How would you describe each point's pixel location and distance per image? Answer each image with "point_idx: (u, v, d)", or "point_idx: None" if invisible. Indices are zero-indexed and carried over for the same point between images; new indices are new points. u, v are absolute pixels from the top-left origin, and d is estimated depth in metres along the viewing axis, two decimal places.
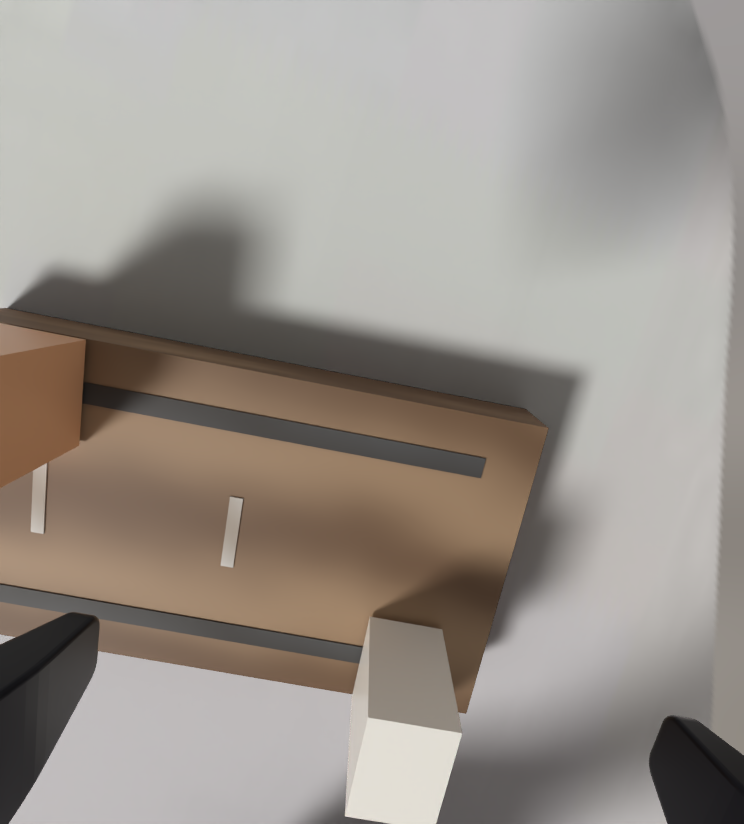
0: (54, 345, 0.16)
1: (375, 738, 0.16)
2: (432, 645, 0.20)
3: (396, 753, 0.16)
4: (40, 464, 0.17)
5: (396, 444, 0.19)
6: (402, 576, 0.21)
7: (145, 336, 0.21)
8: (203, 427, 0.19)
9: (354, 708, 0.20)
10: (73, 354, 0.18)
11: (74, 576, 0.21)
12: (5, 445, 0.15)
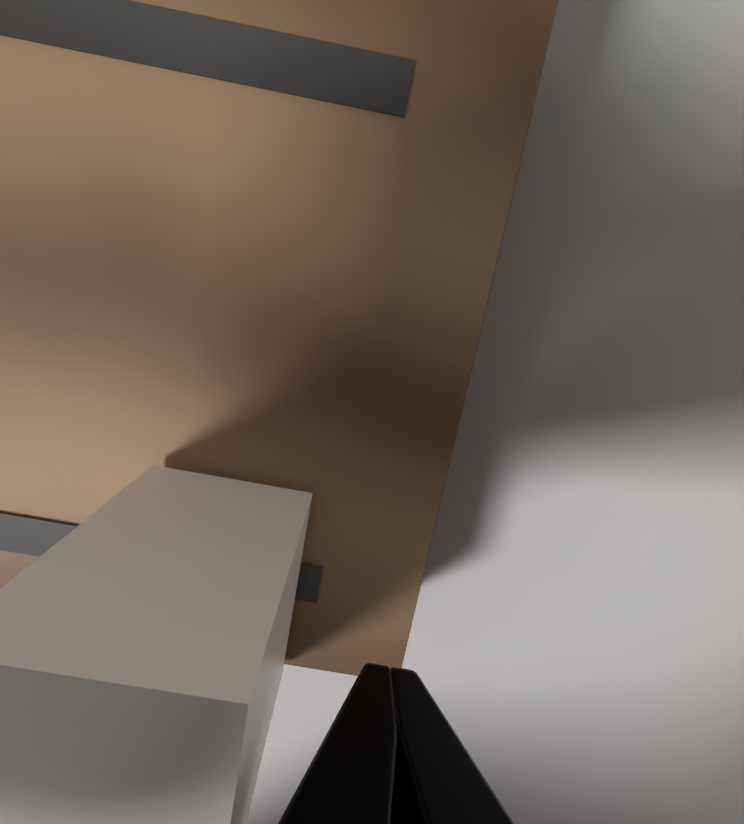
0: None
1: None
2: (273, 513, 0.09)
3: (45, 771, 0.05)
4: None
5: (197, 25, 0.08)
6: (243, 376, 0.09)
7: None
8: None
9: None
10: None
11: None
12: None
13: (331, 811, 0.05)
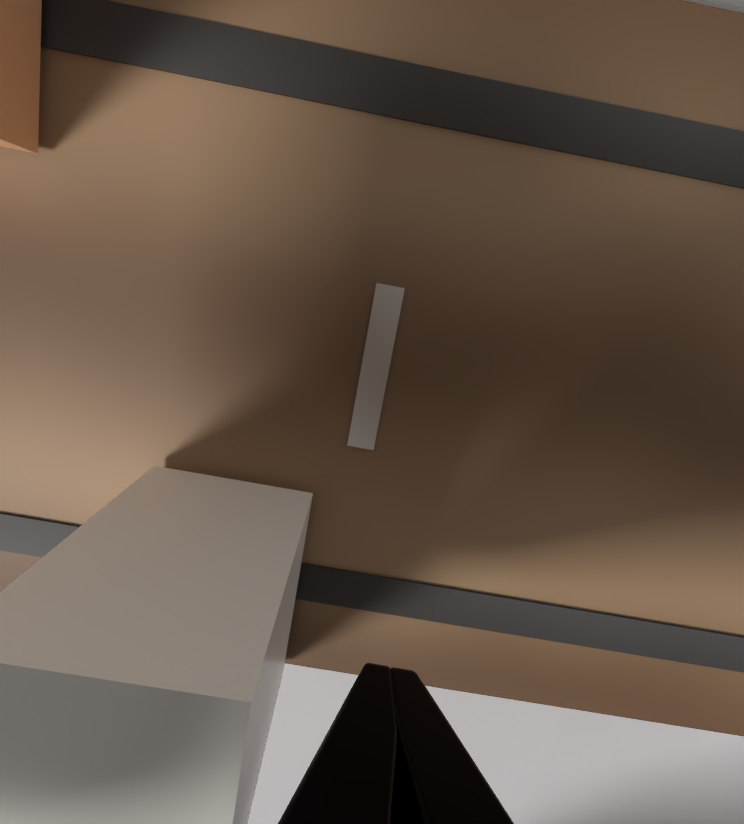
0: None
1: None
2: (274, 513, 0.09)
3: (50, 768, 0.05)
4: None
5: None
6: (731, 464, 0.10)
7: None
8: (324, 107, 0.08)
9: None
10: None
11: (38, 474, 0.10)
12: None
13: (331, 811, 0.05)
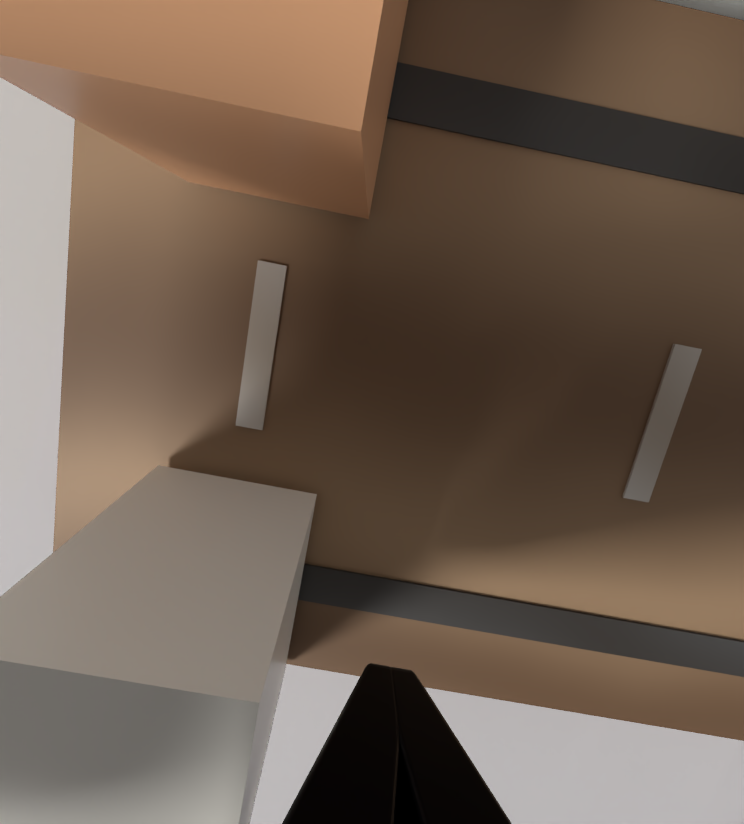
0: None
1: None
2: (278, 514, 0.09)
3: (58, 768, 0.05)
4: (367, 189, 0.06)
5: None
6: None
7: None
8: (647, 177, 0.09)
9: None
10: None
11: (315, 521, 0.10)
12: (392, 0, 0.04)
13: (335, 812, 0.05)
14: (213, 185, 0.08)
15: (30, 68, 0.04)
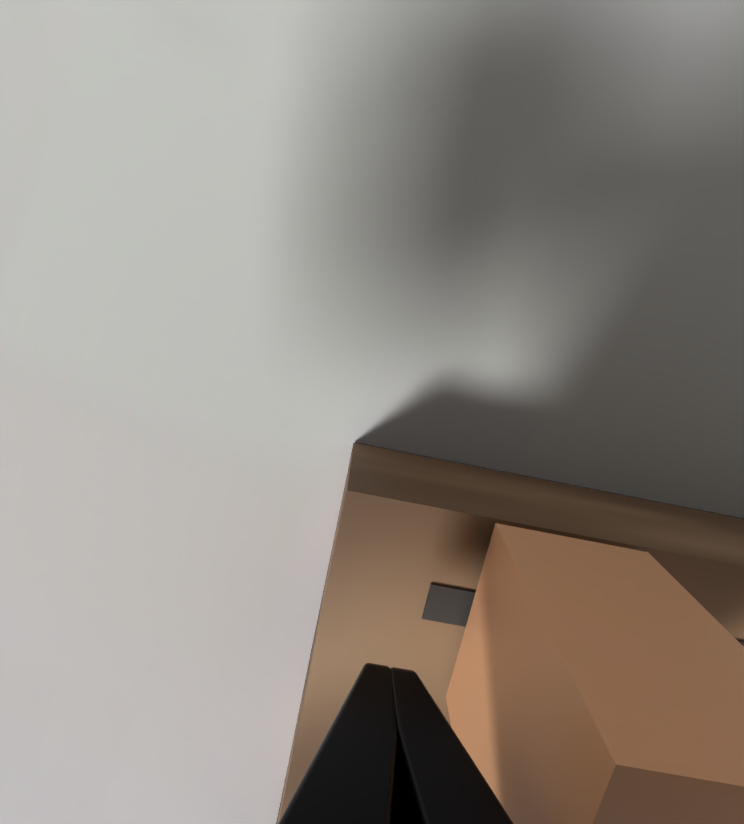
0: (702, 609, 0.08)
1: None
2: None
3: None
4: None
5: None
6: None
7: (588, 492, 0.13)
8: None
9: None
10: None
11: None
12: None
13: (331, 811, 0.05)
14: None
15: None
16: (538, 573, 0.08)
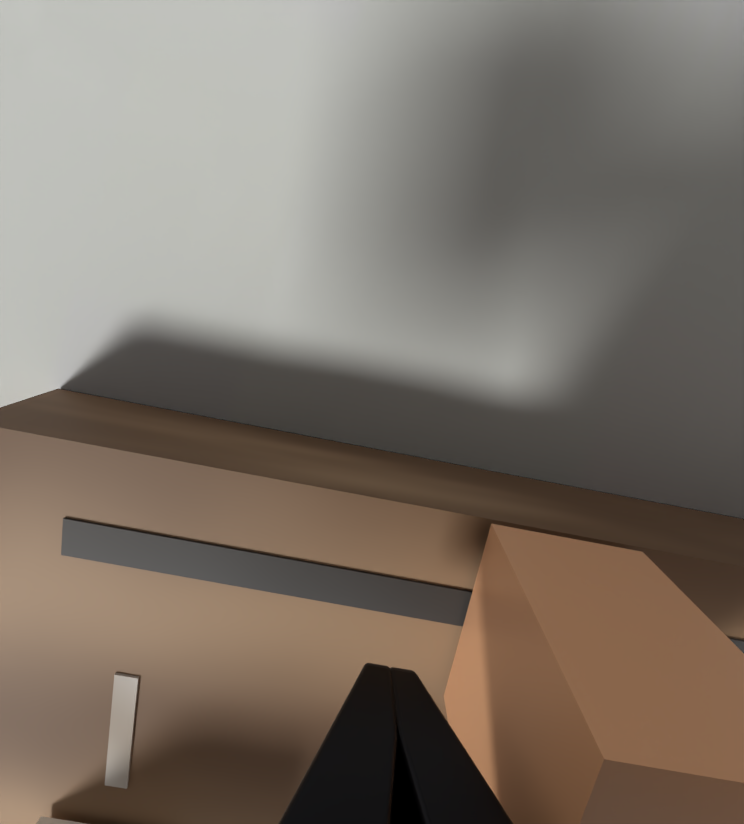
0: (695, 607, 0.08)
1: None
2: None
3: None
4: None
5: None
6: None
7: (293, 437, 0.12)
8: (426, 620, 0.11)
9: None
10: None
11: None
12: None
13: (331, 811, 0.05)
14: None
15: None
16: (532, 573, 0.08)
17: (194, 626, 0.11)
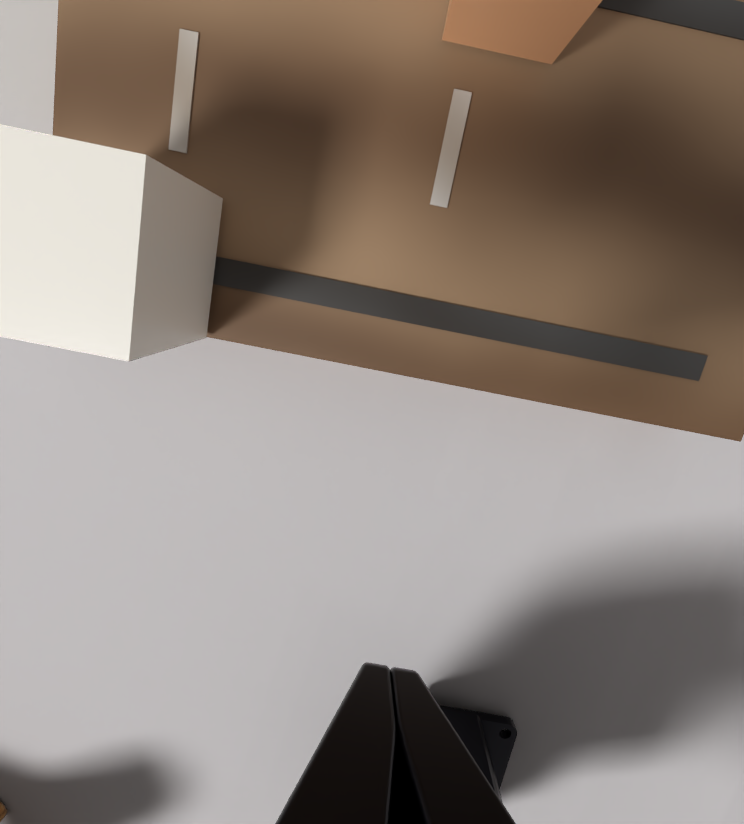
0: None
1: (5, 167, 0.10)
2: None
3: (44, 199, 0.10)
4: (586, 17, 0.11)
5: None
6: (681, 222, 0.15)
7: None
8: None
9: None
10: None
11: (224, 224, 0.15)
12: None
13: (329, 810, 0.05)
14: (460, 39, 0.13)
15: None
16: None
17: None
